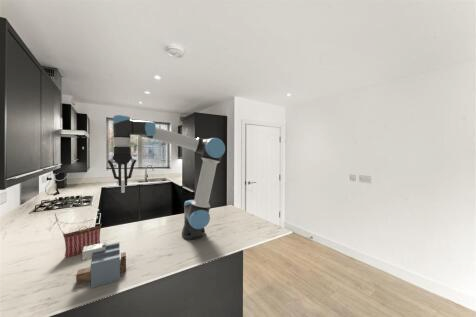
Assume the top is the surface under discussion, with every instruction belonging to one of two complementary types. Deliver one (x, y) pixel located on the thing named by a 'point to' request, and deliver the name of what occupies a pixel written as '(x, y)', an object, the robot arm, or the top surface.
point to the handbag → (80, 239)
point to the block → (106, 266)
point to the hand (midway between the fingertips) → (123, 192)
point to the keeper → (93, 250)
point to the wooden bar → (85, 273)
